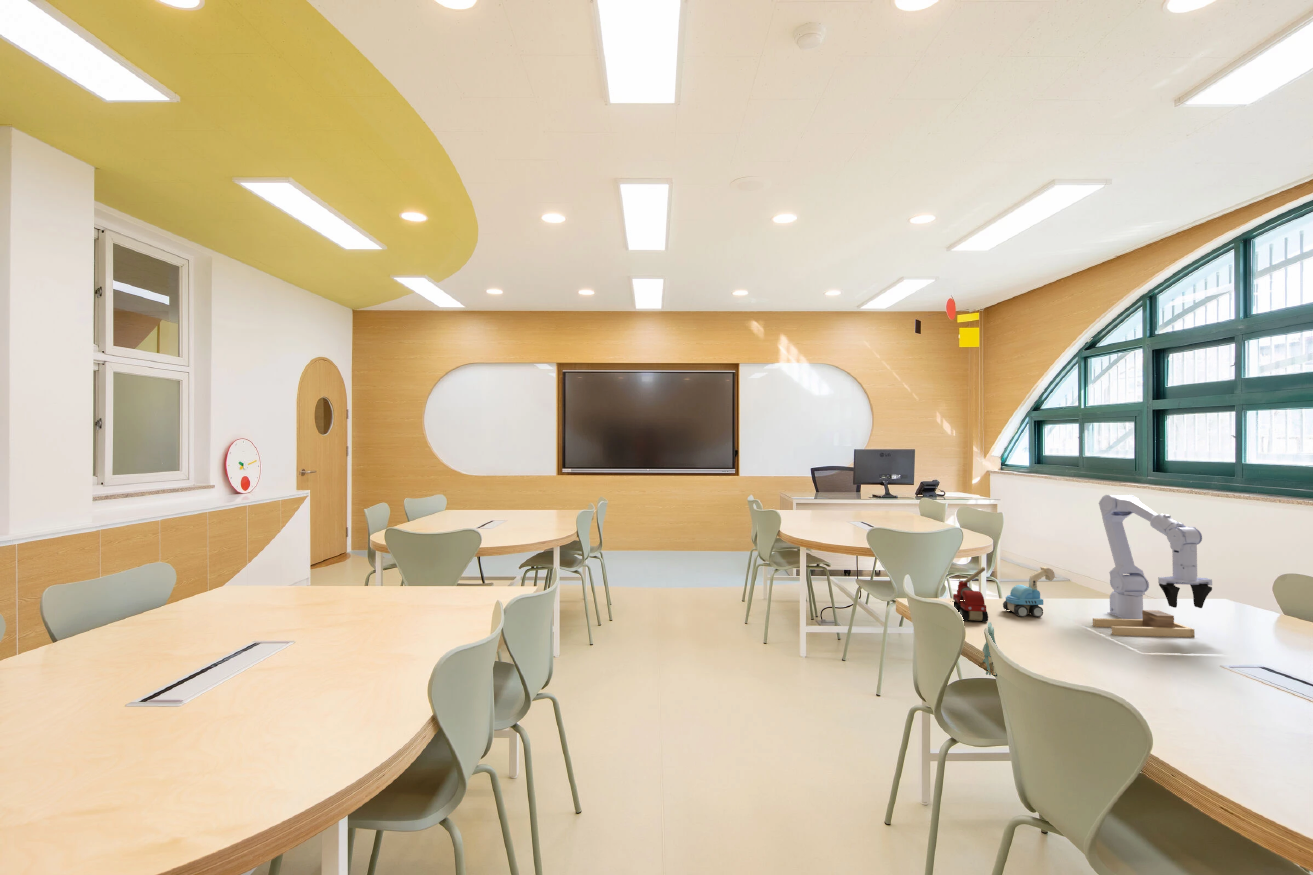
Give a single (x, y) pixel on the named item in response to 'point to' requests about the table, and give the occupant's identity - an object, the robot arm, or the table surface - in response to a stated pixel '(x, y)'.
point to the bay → (1142, 628)
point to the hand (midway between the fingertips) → (1185, 606)
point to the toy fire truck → (970, 600)
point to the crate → (1157, 619)
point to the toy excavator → (1028, 595)
